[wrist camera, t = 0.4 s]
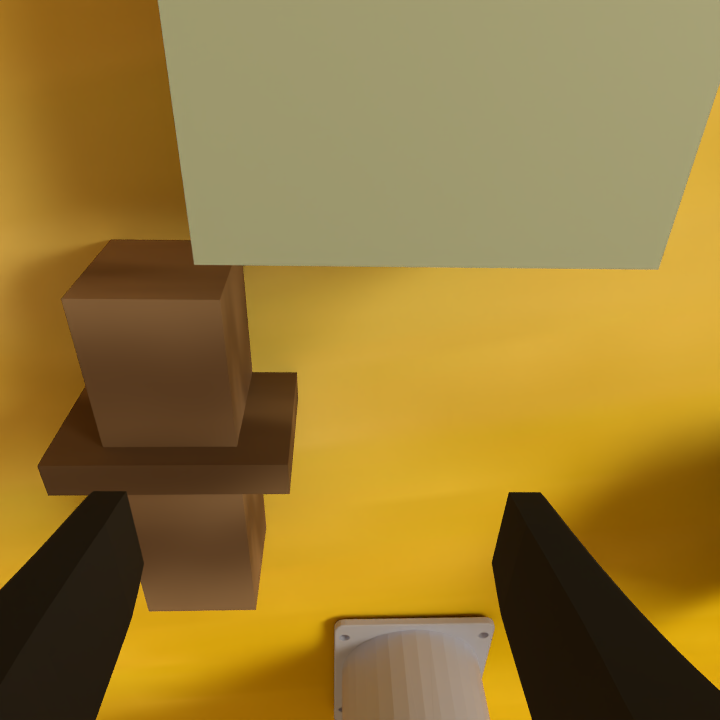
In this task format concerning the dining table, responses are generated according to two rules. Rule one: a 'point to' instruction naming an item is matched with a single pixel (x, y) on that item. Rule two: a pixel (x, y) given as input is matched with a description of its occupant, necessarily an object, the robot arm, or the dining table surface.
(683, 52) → the block
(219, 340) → the brown collared bar
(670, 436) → the dining table surface
